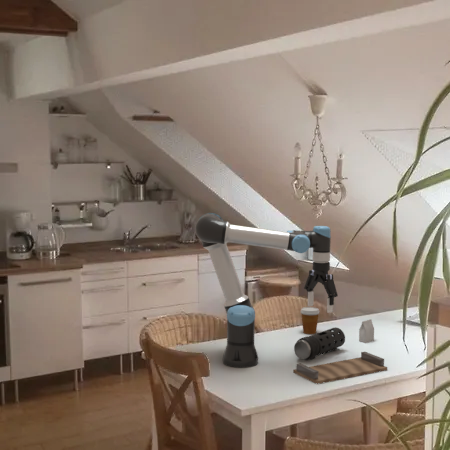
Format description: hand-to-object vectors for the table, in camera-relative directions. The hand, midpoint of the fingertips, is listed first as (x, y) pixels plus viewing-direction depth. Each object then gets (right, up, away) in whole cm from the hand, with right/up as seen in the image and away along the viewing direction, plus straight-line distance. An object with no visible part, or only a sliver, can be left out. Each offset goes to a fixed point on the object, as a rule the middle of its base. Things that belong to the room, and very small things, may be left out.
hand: (320, 309), depth 302 cm
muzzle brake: (0, -21, +1) cm, 21 cm away
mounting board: (+6, -23, -21) cm, 31 cm away
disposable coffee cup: (0, -17, +39) cm, 43 cm away
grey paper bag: (+26, -19, +25) cm, 40 cm away
